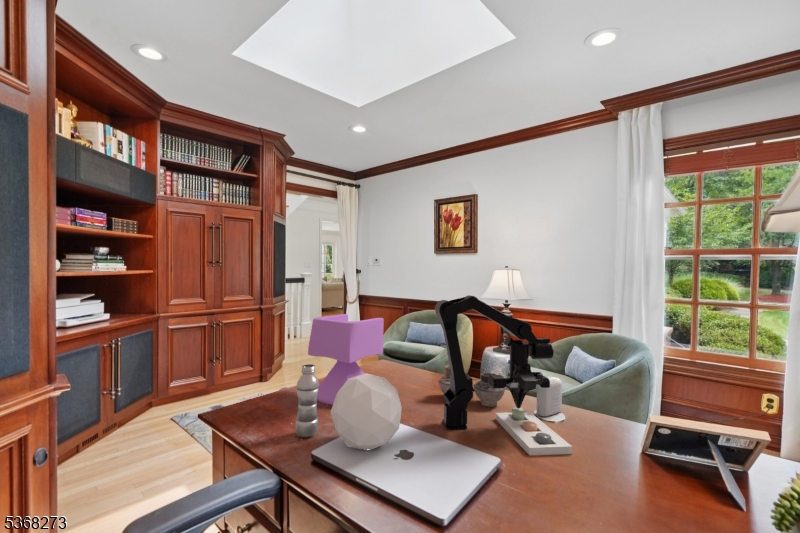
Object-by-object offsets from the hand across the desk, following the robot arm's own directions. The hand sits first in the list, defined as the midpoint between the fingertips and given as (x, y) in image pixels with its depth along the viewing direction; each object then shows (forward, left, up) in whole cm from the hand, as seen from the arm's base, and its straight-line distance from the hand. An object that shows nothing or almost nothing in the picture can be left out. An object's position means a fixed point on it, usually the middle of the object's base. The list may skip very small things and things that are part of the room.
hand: (518, 407), depth 117 cm
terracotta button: (0, -8, -5) cm, 9 cm away
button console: (0, -8, -5) cm, 9 cm away
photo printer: (+15, +8, -5) cm, 18 cm away
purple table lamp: (-56, +27, -5) cm, 62 cm away
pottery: (-9, +21, -5) cm, 24 cm away
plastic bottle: (-66, -4, -5) cm, 66 cm away
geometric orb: (-49, -11, -5) cm, 50 cm away
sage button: (0, 0, -3) cm, 4 cm away
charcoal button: (0, -16, -5) cm, 17 cm away
